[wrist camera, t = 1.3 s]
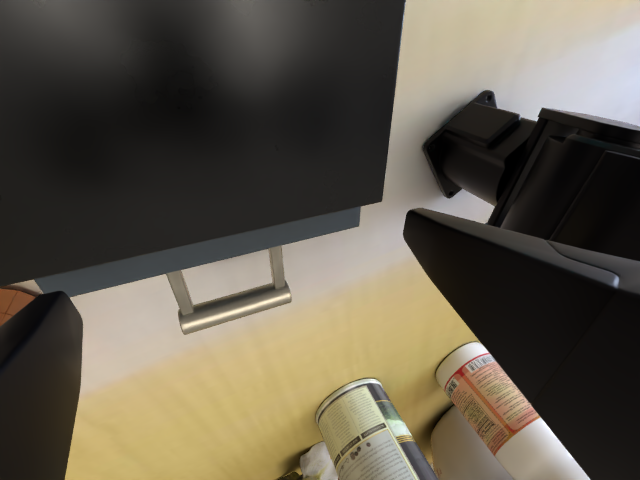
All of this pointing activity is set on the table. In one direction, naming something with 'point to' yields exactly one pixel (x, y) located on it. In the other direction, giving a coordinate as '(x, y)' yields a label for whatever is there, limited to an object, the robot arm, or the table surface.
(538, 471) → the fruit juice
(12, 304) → the flower pot
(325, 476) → the artificial flower
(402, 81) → the table surface
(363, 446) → the coffee can
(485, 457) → the chamber pot
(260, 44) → the black drawer cabinet
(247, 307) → the drawer
